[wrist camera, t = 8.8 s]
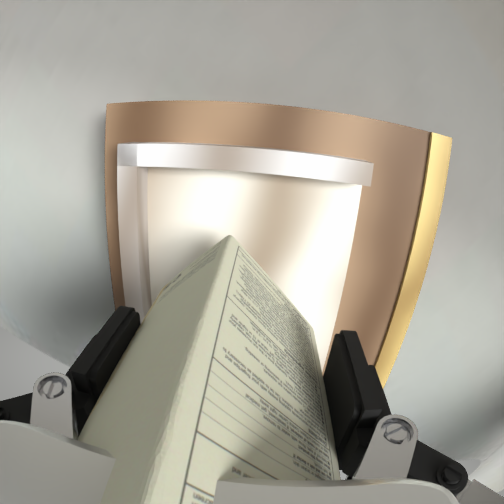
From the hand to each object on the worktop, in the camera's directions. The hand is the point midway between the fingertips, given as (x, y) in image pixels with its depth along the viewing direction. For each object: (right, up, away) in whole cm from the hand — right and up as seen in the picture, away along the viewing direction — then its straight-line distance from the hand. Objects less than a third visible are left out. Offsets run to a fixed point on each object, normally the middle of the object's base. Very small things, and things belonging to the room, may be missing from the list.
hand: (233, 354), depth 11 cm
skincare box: (0, +1, +3) cm, 3 cm away
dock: (+1, +3, +8) cm, 8 cm away
